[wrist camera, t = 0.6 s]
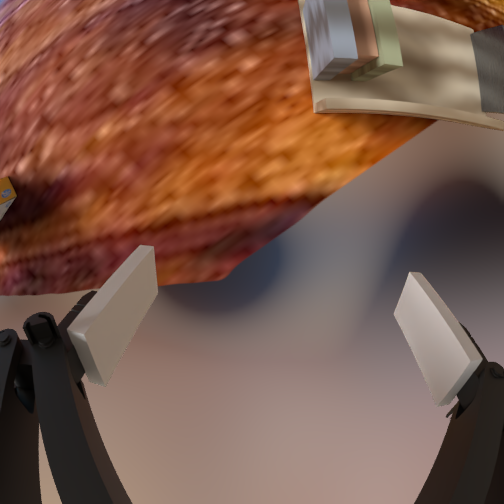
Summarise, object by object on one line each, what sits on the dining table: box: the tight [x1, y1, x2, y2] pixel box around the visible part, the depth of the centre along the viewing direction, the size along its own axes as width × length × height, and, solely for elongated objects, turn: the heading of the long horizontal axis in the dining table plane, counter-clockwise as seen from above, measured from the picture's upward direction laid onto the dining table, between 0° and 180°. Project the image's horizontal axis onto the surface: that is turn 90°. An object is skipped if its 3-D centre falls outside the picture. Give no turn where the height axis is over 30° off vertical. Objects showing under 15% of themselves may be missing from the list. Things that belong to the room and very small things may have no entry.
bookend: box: [470, 25, 504, 114], centre depth 22 cm, size 14×1×9 cm, turn 6°
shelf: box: [298, 0, 504, 131], centre depth 22 cm, size 18×30×14 cm, turn 96°
